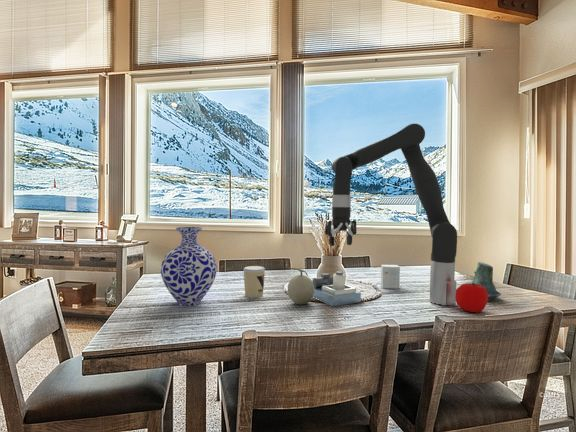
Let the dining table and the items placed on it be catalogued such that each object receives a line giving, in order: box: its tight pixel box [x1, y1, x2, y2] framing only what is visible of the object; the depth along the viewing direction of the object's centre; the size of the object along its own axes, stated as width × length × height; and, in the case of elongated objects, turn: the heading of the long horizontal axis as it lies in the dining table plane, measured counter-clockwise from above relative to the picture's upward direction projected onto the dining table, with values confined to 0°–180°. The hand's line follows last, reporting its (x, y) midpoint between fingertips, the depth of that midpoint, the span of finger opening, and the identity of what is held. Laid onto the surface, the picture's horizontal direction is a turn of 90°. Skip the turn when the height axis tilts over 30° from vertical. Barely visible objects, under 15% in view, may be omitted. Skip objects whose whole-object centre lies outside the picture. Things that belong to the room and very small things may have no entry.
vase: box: [160, 226, 218, 307], centre depth 151 cm, size 22×22×30 cm
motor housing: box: [311, 272, 362, 307], centre depth 160 cm, size 18×14×9 cm
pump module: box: [332, 271, 346, 290], centre depth 157 cm, size 5×5×8 cm
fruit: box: [285, 266, 314, 305], centre depth 152 cm, size 10×12×15 cm
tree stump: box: [469, 261, 502, 301], centre depth 166 cm, size 18×20×18 cm
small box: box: [380, 264, 401, 290], centre depth 182 cm, size 8×6×10 cm
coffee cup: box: [243, 265, 266, 298], centre depth 164 cm, size 9×9×12 cm
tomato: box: [455, 282, 489, 313], centre depth 145 cm, size 12×12×11 cm
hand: (340, 245), depth 156 cm, fingers open, 8 cm apart
